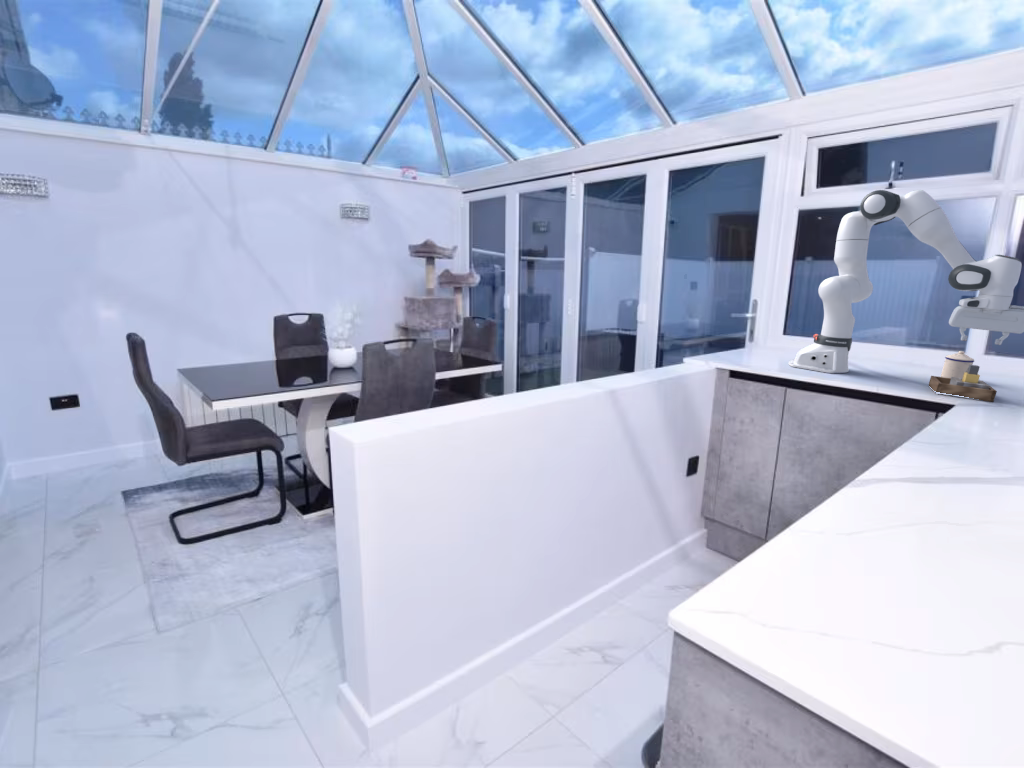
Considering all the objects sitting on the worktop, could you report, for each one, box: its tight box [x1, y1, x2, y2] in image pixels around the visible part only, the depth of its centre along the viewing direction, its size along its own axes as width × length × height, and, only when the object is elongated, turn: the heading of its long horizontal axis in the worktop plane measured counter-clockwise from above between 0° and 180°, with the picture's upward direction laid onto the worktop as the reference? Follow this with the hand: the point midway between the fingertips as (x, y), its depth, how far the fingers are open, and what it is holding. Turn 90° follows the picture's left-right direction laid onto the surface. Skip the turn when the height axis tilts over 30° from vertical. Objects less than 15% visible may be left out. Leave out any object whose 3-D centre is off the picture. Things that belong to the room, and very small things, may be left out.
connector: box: [962, 364, 981, 383], centre depth 185 cm, size 4×4×10 cm
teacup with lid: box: [940, 350, 975, 378], centre depth 210 cm, size 12×9×12 cm
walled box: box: [928, 375, 998, 403], centre depth 187 cm, size 16×14×5 cm
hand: (980, 342), depth 182 cm, fingers open, 8 cm apart
